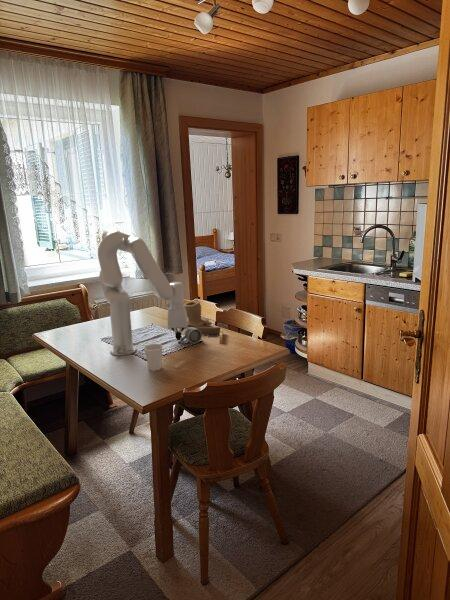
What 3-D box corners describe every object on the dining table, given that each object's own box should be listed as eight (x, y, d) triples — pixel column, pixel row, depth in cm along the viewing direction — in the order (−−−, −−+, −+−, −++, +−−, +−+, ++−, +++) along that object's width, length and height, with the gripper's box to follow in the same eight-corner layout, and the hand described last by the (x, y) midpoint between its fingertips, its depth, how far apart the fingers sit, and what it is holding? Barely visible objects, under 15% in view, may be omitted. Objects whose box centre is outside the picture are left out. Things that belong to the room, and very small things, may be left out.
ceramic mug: (196, 338, 223) (195, 324, 221) (202, 342, 216) (201, 328, 214) (178, 341, 219) (177, 327, 217) (183, 346, 211) (182, 331, 210)
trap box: (221, 343, 213) (221, 336, 212) (183, 344, 213) (183, 337, 212) (222, 334, 229) (222, 327, 228) (187, 334, 229) (186, 327, 228)
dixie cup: (167, 368, 183) (166, 346, 181) (151, 373, 178) (150, 351, 175) (157, 363, 189) (156, 342, 187) (141, 367, 184) (140, 346, 181)
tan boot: (180, 326, 246) (179, 301, 242) (195, 322, 254) (194, 298, 250) (197, 331, 235) (196, 305, 232) (212, 326, 243) (211, 301, 240)
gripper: (161, 307, 210) (163, 342, 214) (190, 307, 210) (192, 341, 214) (163, 304, 218) (165, 337, 222) (191, 303, 217) (193, 337, 221)
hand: (178, 339), depth 218 cm, fingers closed
